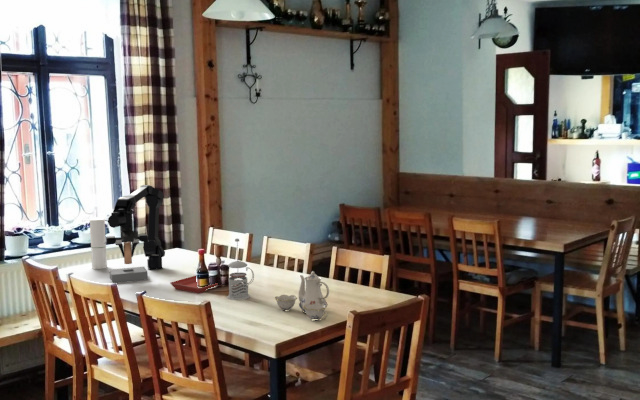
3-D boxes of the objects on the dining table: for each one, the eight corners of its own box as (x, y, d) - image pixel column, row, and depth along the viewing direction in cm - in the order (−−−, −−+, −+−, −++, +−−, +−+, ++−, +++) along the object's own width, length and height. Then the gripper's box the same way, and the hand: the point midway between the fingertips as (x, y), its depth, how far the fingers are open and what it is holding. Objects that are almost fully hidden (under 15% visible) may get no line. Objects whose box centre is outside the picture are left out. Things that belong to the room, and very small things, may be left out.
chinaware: (268, 314, 263) (263, 274, 260) (298, 302, 275) (294, 263, 271) (319, 329, 244) (315, 286, 240) (349, 315, 255) (346, 273, 252)
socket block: (144, 274, 326) (144, 266, 326) (147, 279, 315) (147, 271, 315) (110, 277, 320) (109, 269, 320) (112, 283, 309) (111, 274, 309)
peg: (131, 262, 319) (130, 241, 318) (132, 263, 316) (131, 242, 315) (124, 262, 318) (123, 242, 317) (124, 264, 315) (123, 243, 314)
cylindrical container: (109, 266, 347) (106, 218, 344) (103, 269, 339) (101, 220, 337) (95, 265, 347) (93, 218, 344) (89, 268, 340) (87, 220, 337)
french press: (224, 295, 286) (222, 237, 283) (250, 292, 290) (249, 235, 287) (229, 301, 277) (228, 241, 274) (257, 298, 281) (255, 239, 278)
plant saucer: (227, 286, 303) (227, 279, 302) (199, 295, 288) (199, 287, 287) (197, 281, 313) (197, 274, 312) (169, 290, 298) (169, 282, 297)
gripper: (106, 228, 304) (108, 262, 306) (149, 225, 311) (150, 258, 313) (105, 224, 314) (106, 257, 316) (145, 222, 321) (147, 254, 323)
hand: (127, 257), depth 317 cm, fingers closed on peg, 3 cm apart
